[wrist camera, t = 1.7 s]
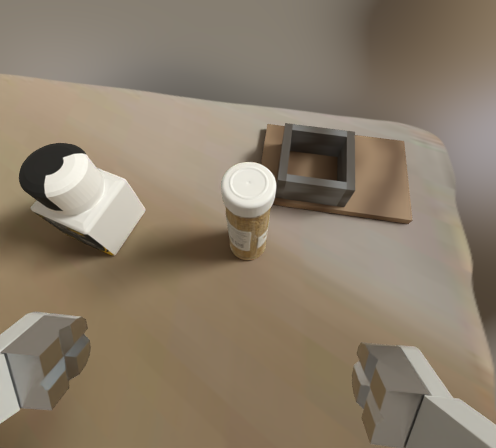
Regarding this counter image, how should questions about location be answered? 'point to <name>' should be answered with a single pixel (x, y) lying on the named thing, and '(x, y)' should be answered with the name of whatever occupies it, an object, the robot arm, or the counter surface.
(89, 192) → the medicine bottle
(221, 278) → the counter surface
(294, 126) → the socket block
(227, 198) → the sprinkles bottle
